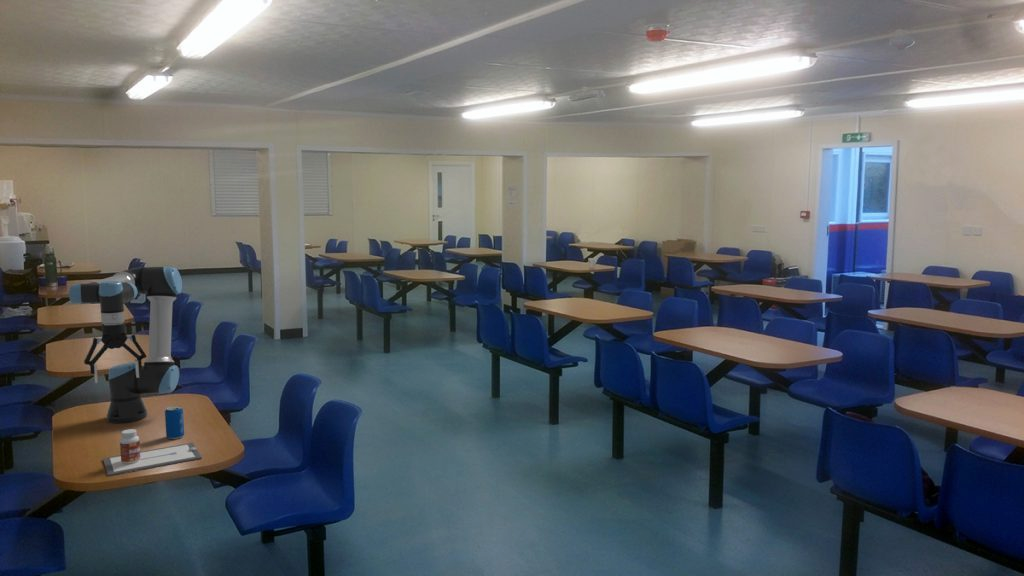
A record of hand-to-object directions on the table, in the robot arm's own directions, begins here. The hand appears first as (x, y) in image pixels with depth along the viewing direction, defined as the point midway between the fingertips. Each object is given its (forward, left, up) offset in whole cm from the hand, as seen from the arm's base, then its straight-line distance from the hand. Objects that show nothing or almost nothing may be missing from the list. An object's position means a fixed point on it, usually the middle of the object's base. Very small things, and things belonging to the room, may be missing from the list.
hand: (117, 379), depth 273 cm
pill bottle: (+18, +1, -26) cm, 32 cm away
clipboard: (+18, +8, -27) cm, 33 cm away
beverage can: (-3, +19, -27) cm, 33 cm away
